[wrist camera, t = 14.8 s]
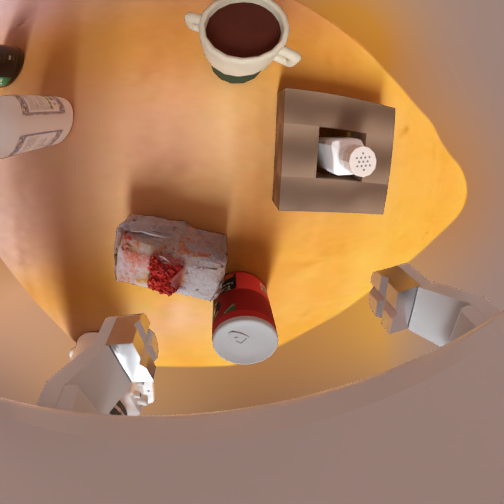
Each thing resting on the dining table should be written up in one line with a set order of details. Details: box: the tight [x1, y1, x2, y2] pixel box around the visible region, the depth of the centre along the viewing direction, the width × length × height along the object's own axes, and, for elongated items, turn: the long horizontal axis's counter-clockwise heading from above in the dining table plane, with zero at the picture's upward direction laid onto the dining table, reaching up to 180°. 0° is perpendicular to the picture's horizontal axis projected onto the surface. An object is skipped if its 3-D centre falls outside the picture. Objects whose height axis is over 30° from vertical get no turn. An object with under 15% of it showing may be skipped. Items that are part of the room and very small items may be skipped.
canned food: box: [212, 272, 278, 364], centre depth 36 cm, size 8×8×11 cm
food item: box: [114, 214, 228, 301], centre depth 32 cm, size 14×8×10 cm, turn 76°
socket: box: [273, 88, 395, 214], centre depth 30 cm, size 14×14×4 cm
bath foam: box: [0, 95, 73, 159], centre depth 17 cm, size 7×7×20 cm
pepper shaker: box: [317, 136, 377, 177], centre depth 28 cm, size 4×4×10 cm
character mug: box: [184, 0, 301, 83], centre depth 21 cm, size 11×7×13 cm, turn 65°
